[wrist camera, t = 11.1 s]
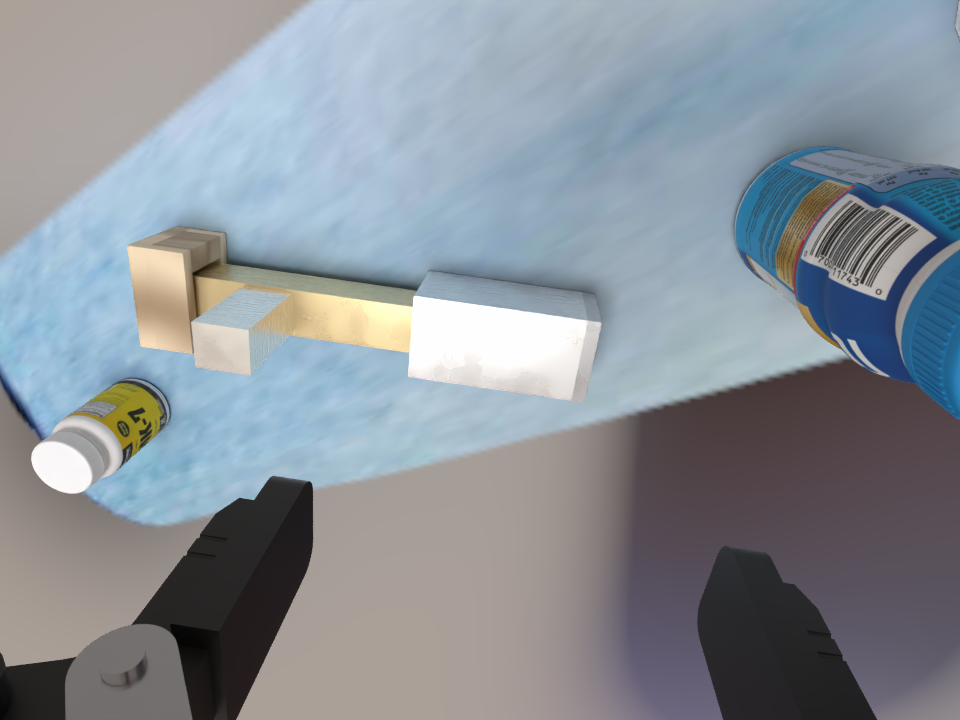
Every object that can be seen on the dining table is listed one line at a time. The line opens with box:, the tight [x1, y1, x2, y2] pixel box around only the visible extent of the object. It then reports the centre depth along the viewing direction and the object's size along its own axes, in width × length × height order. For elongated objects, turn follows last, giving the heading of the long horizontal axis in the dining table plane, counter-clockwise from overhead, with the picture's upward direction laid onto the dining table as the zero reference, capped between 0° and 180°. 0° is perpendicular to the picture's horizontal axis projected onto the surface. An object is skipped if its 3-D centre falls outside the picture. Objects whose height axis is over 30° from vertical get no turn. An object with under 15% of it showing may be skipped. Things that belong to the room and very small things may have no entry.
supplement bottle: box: [31, 379, 169, 493], centre depth 41 cm, size 5×5×8 cm
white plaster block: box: [408, 271, 602, 402], centre depth 37 cm, size 5×11×5 cm, turn 83°
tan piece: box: [191, 262, 417, 375], centre depth 35 cm, size 3×18×9 cm, turn 83°
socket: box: [127, 226, 228, 354], centre depth 38 cm, size 6×3×5 cm, turn 173°
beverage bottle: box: [735, 147, 960, 420], centre depth 26 cm, size 8×8×20 cm
